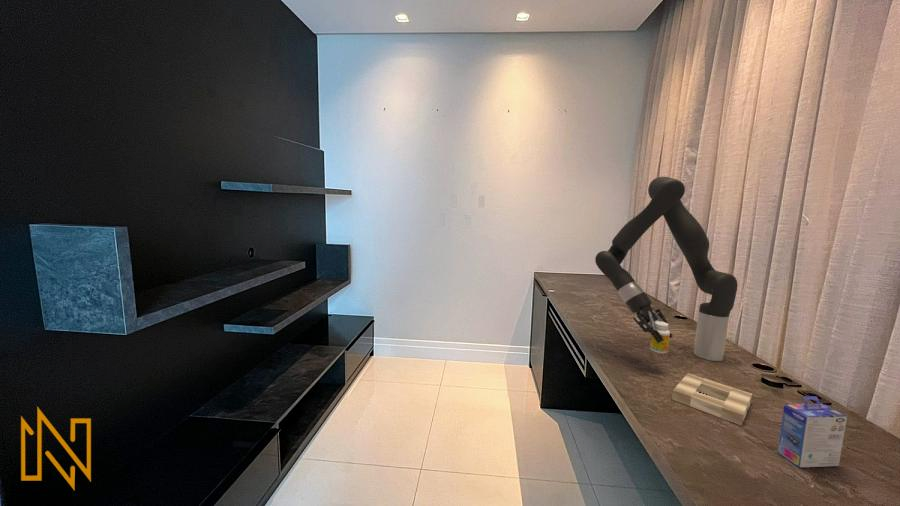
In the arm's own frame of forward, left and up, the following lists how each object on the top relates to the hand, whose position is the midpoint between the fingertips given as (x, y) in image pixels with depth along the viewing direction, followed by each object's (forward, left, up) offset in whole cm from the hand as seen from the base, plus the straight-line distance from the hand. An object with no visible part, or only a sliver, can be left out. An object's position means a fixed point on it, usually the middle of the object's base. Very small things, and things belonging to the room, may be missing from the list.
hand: (665, 339), depth 116 cm
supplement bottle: (0, -2, -5) cm, 5 cm away
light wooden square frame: (+8, +15, -12) cm, 21 cm away
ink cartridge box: (+20, +35, -12) cm, 42 cm away
